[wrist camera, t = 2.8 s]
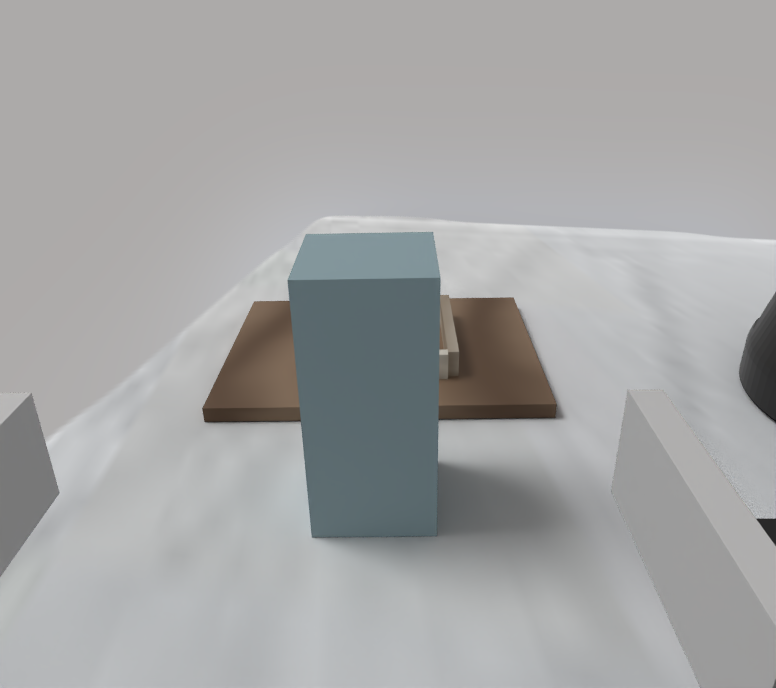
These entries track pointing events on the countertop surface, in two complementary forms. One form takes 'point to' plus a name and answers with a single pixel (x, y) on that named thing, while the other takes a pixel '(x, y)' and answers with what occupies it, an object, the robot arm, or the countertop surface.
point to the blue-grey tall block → (368, 381)
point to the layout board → (456, 366)
